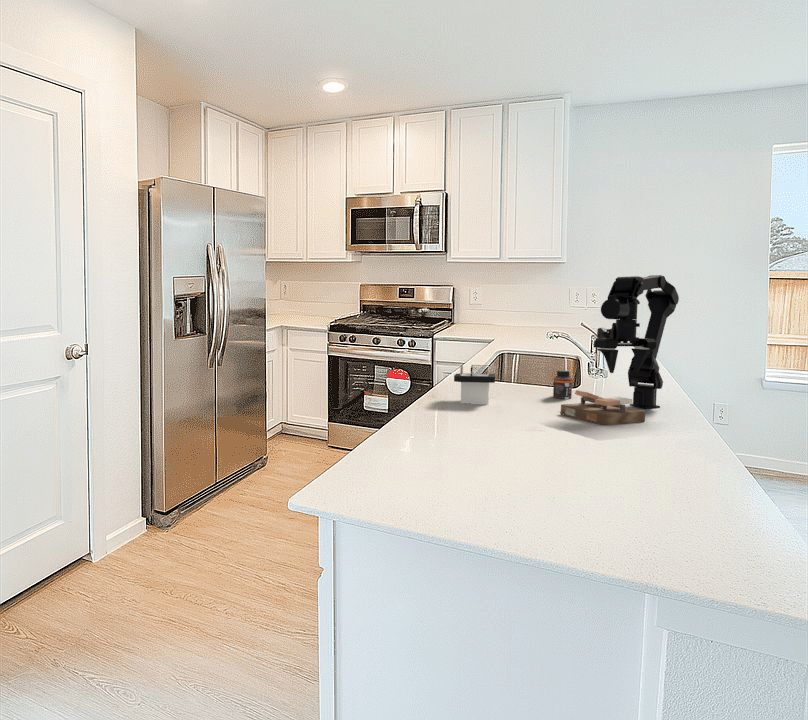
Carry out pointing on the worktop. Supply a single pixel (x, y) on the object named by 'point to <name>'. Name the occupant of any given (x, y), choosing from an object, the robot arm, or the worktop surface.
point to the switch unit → (602, 413)
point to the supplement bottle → (562, 385)
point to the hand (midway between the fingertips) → (623, 372)
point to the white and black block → (475, 385)
